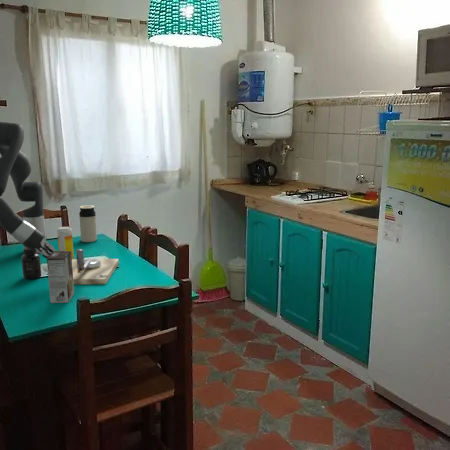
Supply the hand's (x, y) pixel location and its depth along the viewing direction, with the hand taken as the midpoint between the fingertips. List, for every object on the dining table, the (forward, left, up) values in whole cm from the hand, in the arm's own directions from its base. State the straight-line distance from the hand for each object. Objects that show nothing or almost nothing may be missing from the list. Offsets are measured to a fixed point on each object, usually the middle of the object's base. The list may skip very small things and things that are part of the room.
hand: (65, 264), depth 182 cm
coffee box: (+4, -16, -8) cm, 18 cm away
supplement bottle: (-15, +7, -8) cm, 18 cm away
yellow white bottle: (-8, +30, -8) cm, 32 cm away
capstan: (+6, +9, -5) cm, 11 cm away
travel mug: (-7, +66, -8) cm, 66 cm away
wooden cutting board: (+6, +12, -7) cm, 15 cm away
